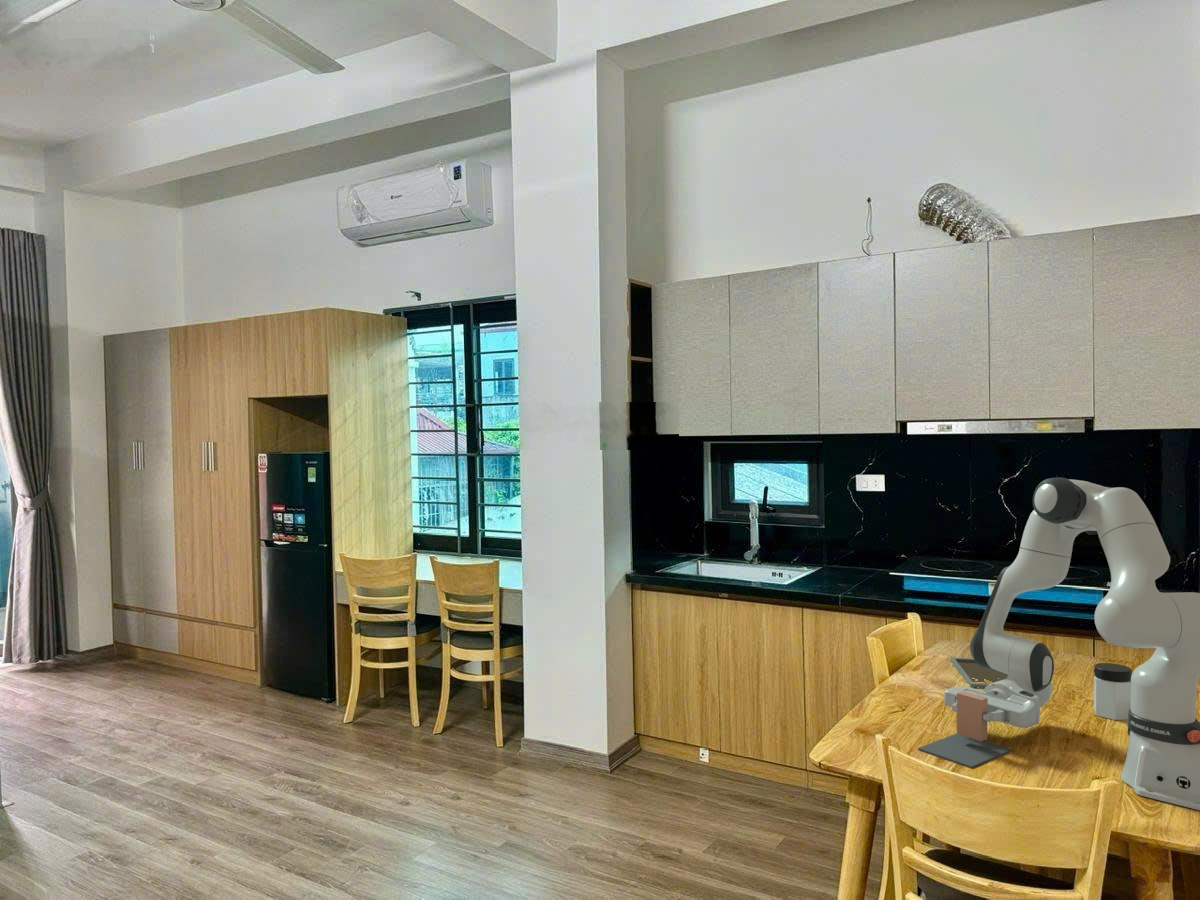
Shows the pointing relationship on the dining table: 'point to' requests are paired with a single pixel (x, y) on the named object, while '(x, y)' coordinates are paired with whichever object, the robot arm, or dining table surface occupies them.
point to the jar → (1112, 690)
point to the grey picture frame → (976, 672)
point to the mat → (965, 750)
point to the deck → (971, 715)
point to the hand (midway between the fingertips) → (969, 713)
